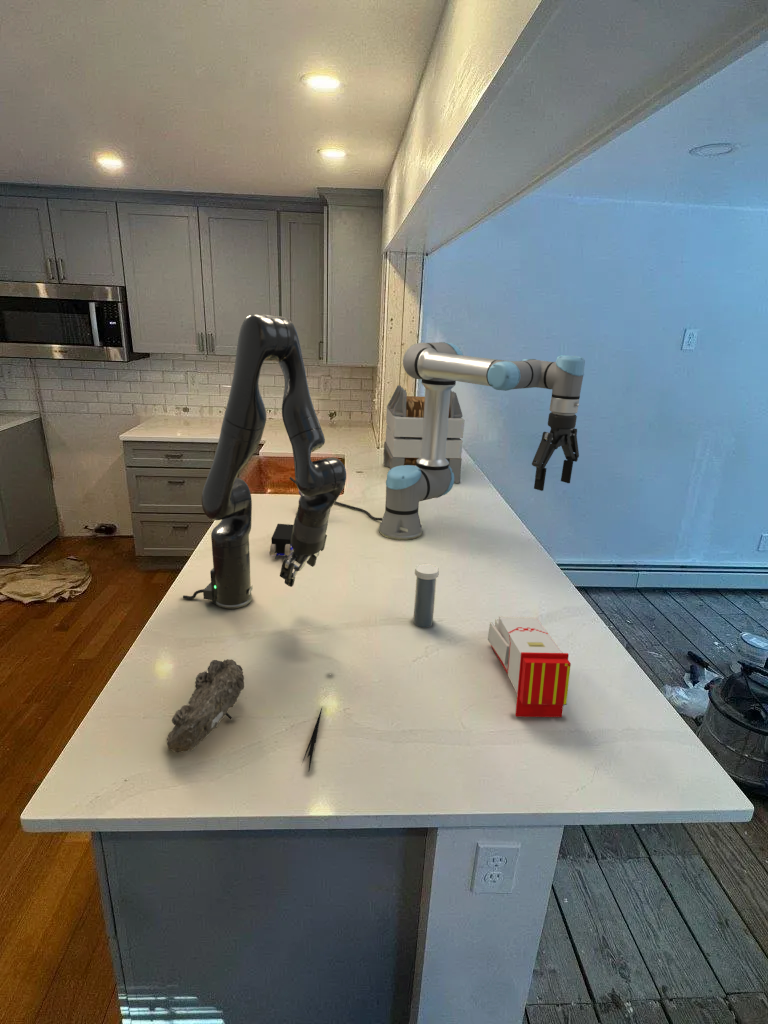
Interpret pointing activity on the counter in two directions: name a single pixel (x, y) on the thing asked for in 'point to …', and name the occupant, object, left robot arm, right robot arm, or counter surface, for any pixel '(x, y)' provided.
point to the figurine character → (281, 540)
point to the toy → (531, 665)
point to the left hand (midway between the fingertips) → (299, 574)
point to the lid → (426, 571)
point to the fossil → (206, 705)
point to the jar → (424, 602)
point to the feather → (313, 740)
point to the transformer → (419, 431)
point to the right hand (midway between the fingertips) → (552, 485)
